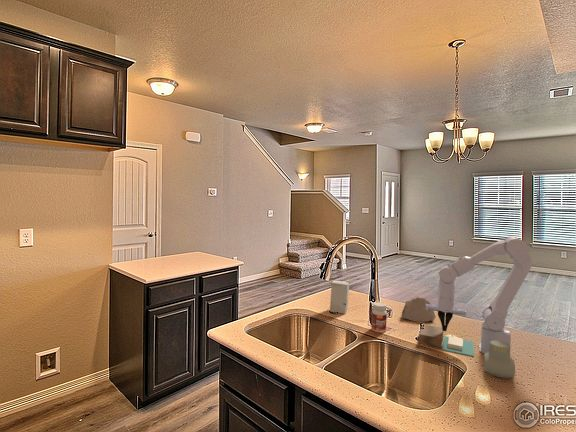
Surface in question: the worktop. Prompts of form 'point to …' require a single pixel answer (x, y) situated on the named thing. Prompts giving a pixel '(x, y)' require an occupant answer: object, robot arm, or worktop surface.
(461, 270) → the robot arm
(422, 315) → the pumice stone
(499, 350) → the air freshener
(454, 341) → the white flat block
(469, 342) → the mat
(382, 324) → the pill bottle
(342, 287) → the skincare box
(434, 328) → the deck
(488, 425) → the worktop surface
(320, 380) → the worktop surface
